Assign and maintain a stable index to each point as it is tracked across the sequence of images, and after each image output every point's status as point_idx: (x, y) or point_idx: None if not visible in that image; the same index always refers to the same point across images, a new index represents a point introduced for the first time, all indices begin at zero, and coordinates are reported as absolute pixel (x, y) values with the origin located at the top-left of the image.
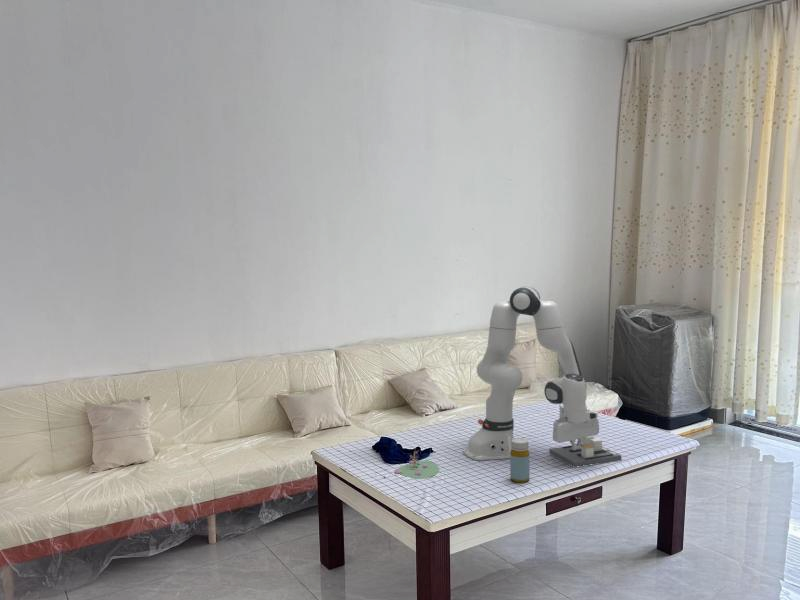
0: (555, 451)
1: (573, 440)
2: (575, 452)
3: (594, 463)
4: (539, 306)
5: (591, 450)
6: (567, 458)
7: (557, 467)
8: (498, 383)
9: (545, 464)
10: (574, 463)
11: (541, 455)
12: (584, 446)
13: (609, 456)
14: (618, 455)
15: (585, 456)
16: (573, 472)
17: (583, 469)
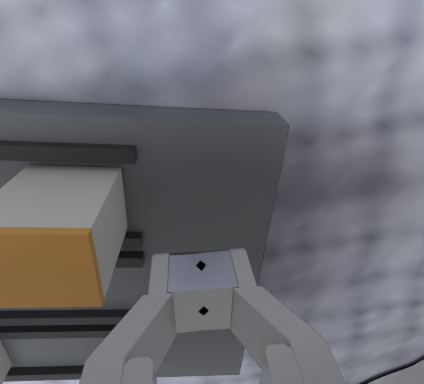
0: (238, 341)
1: (323, 378)
2: (123, 298)
3: (61, 103)
4: None
5: (14, 206)
6: (265, 228)
7: (379, 170)
8: None
9: (390, 240)
10: (286, 124)
11: None
12: (77, 280)
13: None
14: None
15: (118, 182)
16: (379, 9)
17: (239, 36)
